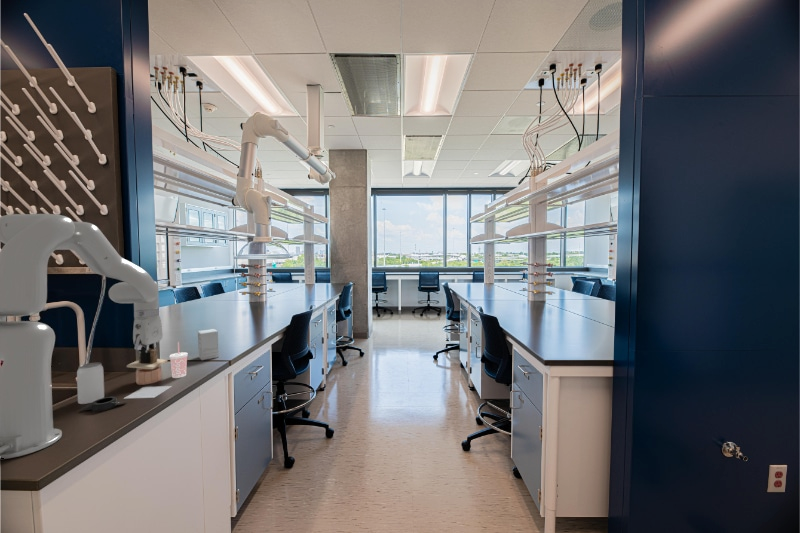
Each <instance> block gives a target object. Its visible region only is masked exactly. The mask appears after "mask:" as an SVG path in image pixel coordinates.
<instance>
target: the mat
mask: <svg viewBox="0 0 800 533" xmlns="http://www.w3.org/2000/svg"><path fill="white" fill-rule="evenodd" d="M172 387H173V386H172V385H170V386H169V385H165V386H164V385H163V386H143V387H141V388H139V389H137V390H136V391H134V392H132V393H130V394H129V395H126V396H125V397H124V398H123V399H125V400H127V399H150V398H151V399H155V398H156V397H158V396H159V395H161V394H162V393H164V392H166V391H167V390H169V389H170V388H172Z"/></svg>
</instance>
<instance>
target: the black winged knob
mask: <svg viewBox="0 0 800 533" xmlns="http://www.w3.org/2000/svg"><path fill="white" fill-rule="evenodd" d="M127 402H128V401H127V400H123V401H118V399H117V396H106V397H105V396H104V398H101V399H98V400H95V401H94V402H92V403H89V404H87V405H86V406H83V407H81V409H80V412H83V411H88V410H91V412H94V413H99V412H100V413H101V412H106V411H108V410H112V409H114V408H116V407H117V405H118V404H121V403H122V404H123V403H127Z"/></svg>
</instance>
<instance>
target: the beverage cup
mask: <svg viewBox="0 0 800 533" xmlns="http://www.w3.org/2000/svg"><path fill="white" fill-rule="evenodd" d="M188 354H189V353H188V352H186V351H185V352H183V351H181V352H180V341H177V352H175V353H171V354H170V355H169V359H170V367H171V377H172V379H179V378H184V377H185V376H187V369H188V368H187V366H188V364H187V362H188Z"/></svg>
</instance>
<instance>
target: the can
mask: <svg viewBox="0 0 800 533" xmlns="http://www.w3.org/2000/svg"><path fill="white" fill-rule="evenodd" d="M104 378H105V377H104V366H103V365H102V362H89V363H85V364H82V365H79V366H78V369H77V371H76V382H77V384H76V388H77V404H80V405H86V404H87V405H88V404H92V402H94V401H95V400H98V399H101V398H105V380H104Z"/></svg>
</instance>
